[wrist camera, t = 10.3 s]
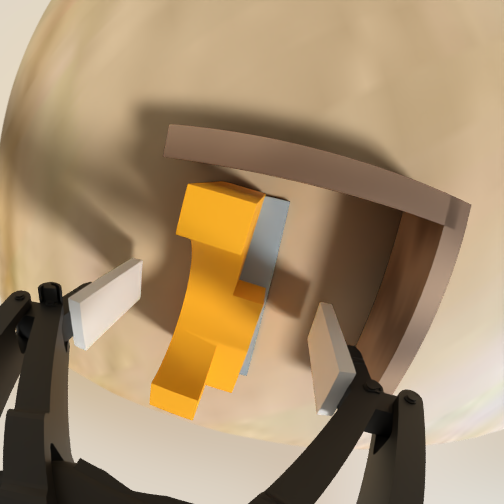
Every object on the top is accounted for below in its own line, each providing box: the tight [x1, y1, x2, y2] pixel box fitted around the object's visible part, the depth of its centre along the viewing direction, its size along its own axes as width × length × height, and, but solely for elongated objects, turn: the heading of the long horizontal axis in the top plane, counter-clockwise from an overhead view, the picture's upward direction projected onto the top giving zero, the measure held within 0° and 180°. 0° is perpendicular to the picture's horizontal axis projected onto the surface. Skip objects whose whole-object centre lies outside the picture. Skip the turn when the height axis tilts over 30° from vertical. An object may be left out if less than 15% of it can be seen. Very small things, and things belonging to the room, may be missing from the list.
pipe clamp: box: [150, 181, 266, 420], centre depth 14 cm, size 12×4×6 cm, turn 163°
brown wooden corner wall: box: [163, 124, 471, 395], centre depth 15 cm, size 15×15×5 cm
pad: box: [239, 196, 290, 376], centre depth 18 cm, size 13×5×1 cm, turn 168°
